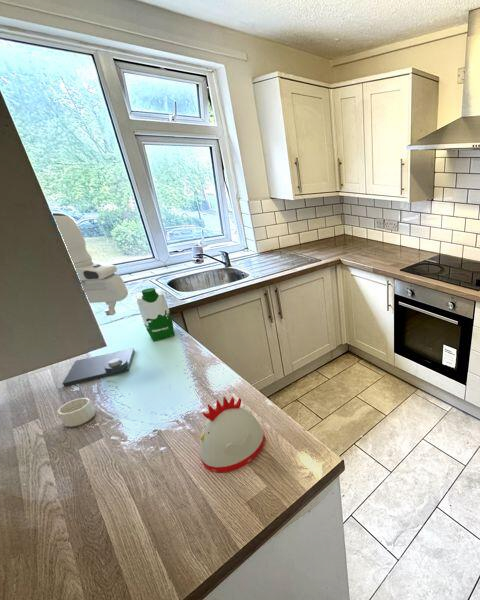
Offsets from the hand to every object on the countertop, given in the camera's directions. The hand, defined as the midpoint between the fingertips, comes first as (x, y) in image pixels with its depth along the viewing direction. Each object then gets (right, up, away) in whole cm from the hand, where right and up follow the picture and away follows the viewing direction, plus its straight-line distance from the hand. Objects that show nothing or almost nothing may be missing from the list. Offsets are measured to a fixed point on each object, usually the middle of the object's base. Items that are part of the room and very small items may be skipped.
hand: (93, 315), depth 96 cm
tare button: (-3, -17, +11) cm, 20 cm away
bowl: (+3, -28, -7) cm, 29 cm away
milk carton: (-4, -10, +34) cm, 36 cm away
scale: (-10, -18, +14) cm, 25 cm away
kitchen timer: (+49, -32, -16) cm, 61 cm away
